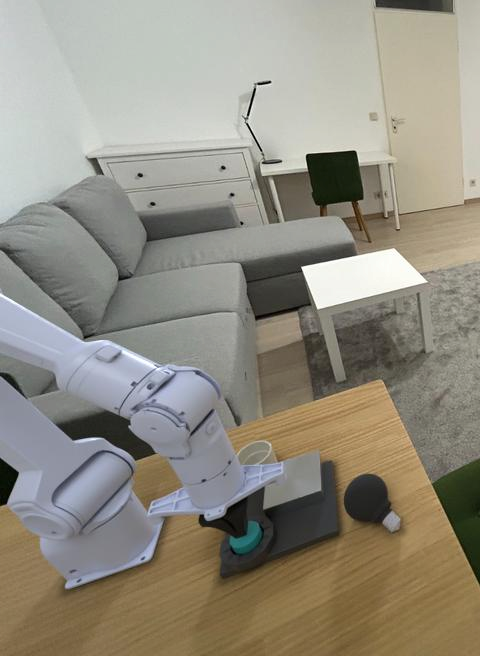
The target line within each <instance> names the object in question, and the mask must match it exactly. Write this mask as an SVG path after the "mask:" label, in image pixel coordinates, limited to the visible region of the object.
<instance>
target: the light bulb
mask: <svg viewBox="0 0 480 656" xmlns="http://www.w3.org/2000/svg"><path fill="white" fill-rule="evenodd" d="M391 505H392V501H391V500H389V491H388V486H387V484H386V482H385V481H384V480H383V478H382V477H381V476H379V475H377V474H375V473H363V474H360V475H358V476H356V477H355V478H353V479H352V480H351V481H350V482H349V484H348V485H347V487H346V489H345V492H344V493H343V506H344V510H345V512H346V513H347V515H348V516H349V517H350V518H351V519H353V520H354V521H357V522H372V524H377V523H378V522H379V523H380V524H382V525H383V526H384V527H385V528H386V529H387V530H388V531H389V532H390V533H391V534H392V533H394V532H396V531H398V530H400V527H401V524H402V523H401V522H402V518H400V517H399V516H398V515H397V513H395V512H394V510H392V508H391Z"/></svg>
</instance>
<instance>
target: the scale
mask: <svg viewBox="0 0 480 656" xmlns="http://www.w3.org/2000/svg"><path fill="white" fill-rule="evenodd" d="M334 468H335V467H334V463H333V460H332V459H329V460H326V461H323V479H324V495H325V501H323V502H320V503H317V504H314V505H311V506H308V507H306V508H303V509H300V510H297V511H294V512H291V513H288V514H285V515H283V516H280V517H277V518H274V519H271V520H269V518H268V517H266V515H265V513H264V511H263V504H264V492H265V486H264V487H262V488H260V489H259V490H257V491H255V492H253V493H252V494H250V495H249V497H248V505H247V518H248V522H249V521H254V522H256V523H258V525H259V527H260V529H261V531H262V539H261V541H260V543H259V544H258V545H257V546H256V547H255V548H254V549H253V550H252V551H250V552H248V553H245V554H237V553H235V552H234V550H233V548H232V546H231V545H230V537H231V535H229V534H228V533H226V532H225V537H224V538H223V540H222V541H221V544H220V547H219V548H220V549H219V557H220V559H221V561H220V567H219V576H220V578H221V580H226V579H228V578H231V577H233V576H236V575H239V574H242V573H244V572H247V571H249V570H252V569H254V568H258V567H261V566H263V565H266V564H268V563H271V562H273V561H276V560H278V559H281V558H283V557H286V556H289V555H292V554H294V553H297V552H300V551H302V550H305V549H307V548H310V547H313V546H315V545H318V544H320V543H321V544H322V543H323V542H326V541H329V540H331V539H335V538H336V537H339V536H340V525H339V514H338V513H339V512H338V503H337V492H336V491H337V490H336V481H335V471H334V470H335V469H334Z"/></svg>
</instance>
